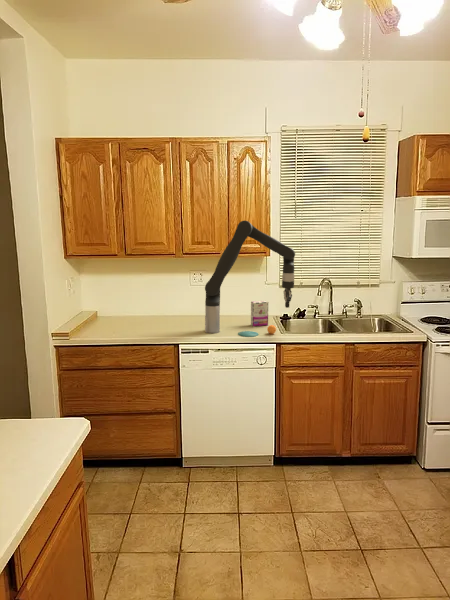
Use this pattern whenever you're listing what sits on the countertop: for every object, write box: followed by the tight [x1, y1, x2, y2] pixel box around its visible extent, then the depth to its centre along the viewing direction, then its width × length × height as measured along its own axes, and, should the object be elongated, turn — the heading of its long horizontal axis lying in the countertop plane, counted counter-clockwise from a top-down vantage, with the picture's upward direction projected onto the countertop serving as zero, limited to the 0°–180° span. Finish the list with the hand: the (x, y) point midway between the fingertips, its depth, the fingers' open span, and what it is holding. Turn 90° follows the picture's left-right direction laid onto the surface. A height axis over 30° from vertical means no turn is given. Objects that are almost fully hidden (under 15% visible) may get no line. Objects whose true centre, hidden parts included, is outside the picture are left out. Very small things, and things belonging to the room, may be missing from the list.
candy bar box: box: [250, 300, 269, 327], centre depth 304 cm, size 11×5×16 cm, turn 105°
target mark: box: [237, 330, 260, 338], centre depth 283 cm, size 13×13×1 cm
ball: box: [266, 324, 277, 335], centre depth 284 cm, size 6×6×6 cm
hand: (287, 307), depth 282 cm, fingers closed
